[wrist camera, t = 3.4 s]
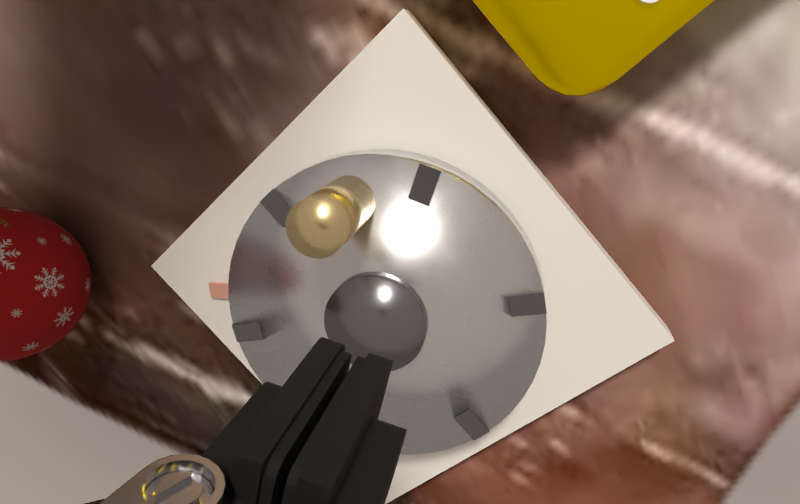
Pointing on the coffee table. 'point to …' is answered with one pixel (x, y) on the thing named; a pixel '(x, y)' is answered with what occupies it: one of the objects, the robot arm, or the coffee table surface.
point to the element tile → (586, 36)
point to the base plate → (475, 155)
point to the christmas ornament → (38, 283)
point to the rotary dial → (395, 288)
